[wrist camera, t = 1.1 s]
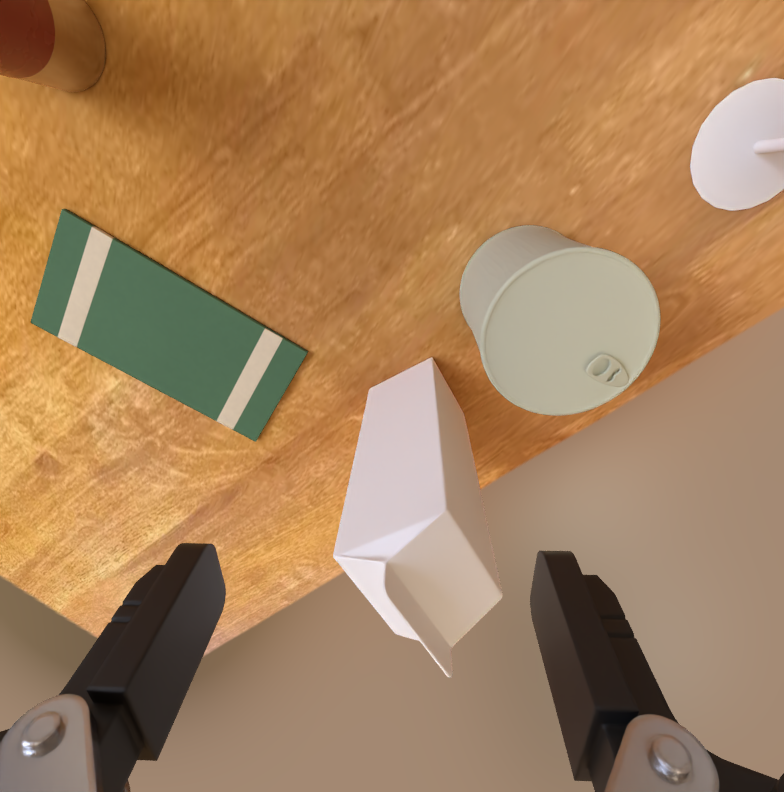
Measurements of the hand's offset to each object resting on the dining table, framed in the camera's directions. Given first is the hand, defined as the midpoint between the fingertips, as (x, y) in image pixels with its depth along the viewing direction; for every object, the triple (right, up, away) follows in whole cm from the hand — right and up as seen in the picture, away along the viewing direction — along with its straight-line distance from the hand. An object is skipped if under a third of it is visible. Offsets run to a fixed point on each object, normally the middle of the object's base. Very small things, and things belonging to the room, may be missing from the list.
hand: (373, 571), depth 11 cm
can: (+10, +12, +23) cm, 28 cm away
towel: (-17, +9, +25) cm, 32 cm away
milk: (+3, +4, +27) cm, 27 cm away
